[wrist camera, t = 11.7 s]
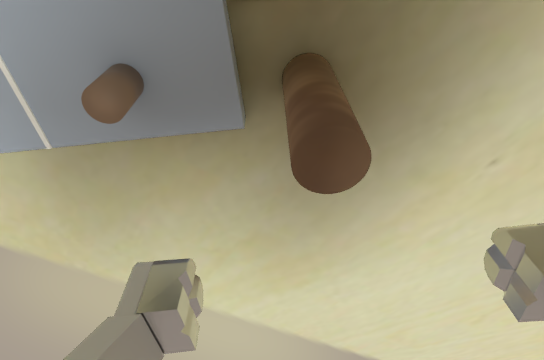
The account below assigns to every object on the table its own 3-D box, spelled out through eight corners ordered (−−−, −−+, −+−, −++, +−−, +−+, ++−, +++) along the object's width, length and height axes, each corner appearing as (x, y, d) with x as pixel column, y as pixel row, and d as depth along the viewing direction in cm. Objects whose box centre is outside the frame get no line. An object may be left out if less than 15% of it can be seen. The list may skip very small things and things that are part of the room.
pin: (332, 50, 19) (373, 122, 12) (333, 100, 21) (369, 190, 14) (279, 56, 19) (288, 131, 12) (284, 105, 21) (294, 197, 14)
